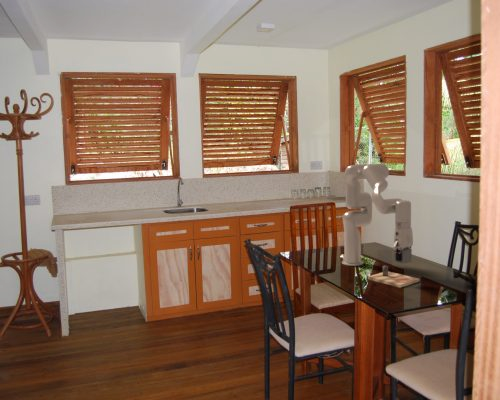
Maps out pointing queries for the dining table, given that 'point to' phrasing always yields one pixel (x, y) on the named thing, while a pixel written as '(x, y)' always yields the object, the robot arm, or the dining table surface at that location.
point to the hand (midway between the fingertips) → (402, 259)
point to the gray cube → (404, 255)
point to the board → (393, 278)
